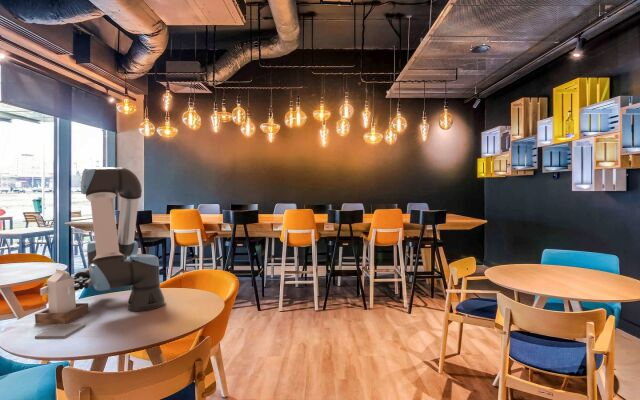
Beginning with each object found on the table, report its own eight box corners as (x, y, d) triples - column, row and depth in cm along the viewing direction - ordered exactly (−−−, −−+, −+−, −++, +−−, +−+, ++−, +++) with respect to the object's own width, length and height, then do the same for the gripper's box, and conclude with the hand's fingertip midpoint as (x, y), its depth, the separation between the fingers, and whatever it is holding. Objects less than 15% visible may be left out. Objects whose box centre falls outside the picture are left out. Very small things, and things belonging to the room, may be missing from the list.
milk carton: (57, 319, 148) (54, 272, 148) (48, 316, 152) (46, 270, 151) (76, 313, 154) (74, 268, 154) (68, 311, 158) (65, 267, 157)
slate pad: (85, 326, 144) (84, 324, 144) (65, 338, 133) (64, 335, 133) (57, 326, 144) (57, 324, 144) (34, 338, 133) (34, 336, 133)
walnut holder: (88, 312, 160) (88, 303, 160) (67, 323, 147) (67, 313, 147) (59, 312, 160) (58, 303, 160) (35, 324, 147) (34, 314, 147)
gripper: (111, 284, 172) (84, 299, 149) (61, 287, 170) (26, 302, 148) (110, 268, 171) (83, 281, 149) (60, 270, 170) (25, 283, 148)
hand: (54, 291), depth 149 cm, fingers closed on milk carton, 10 cm apart
